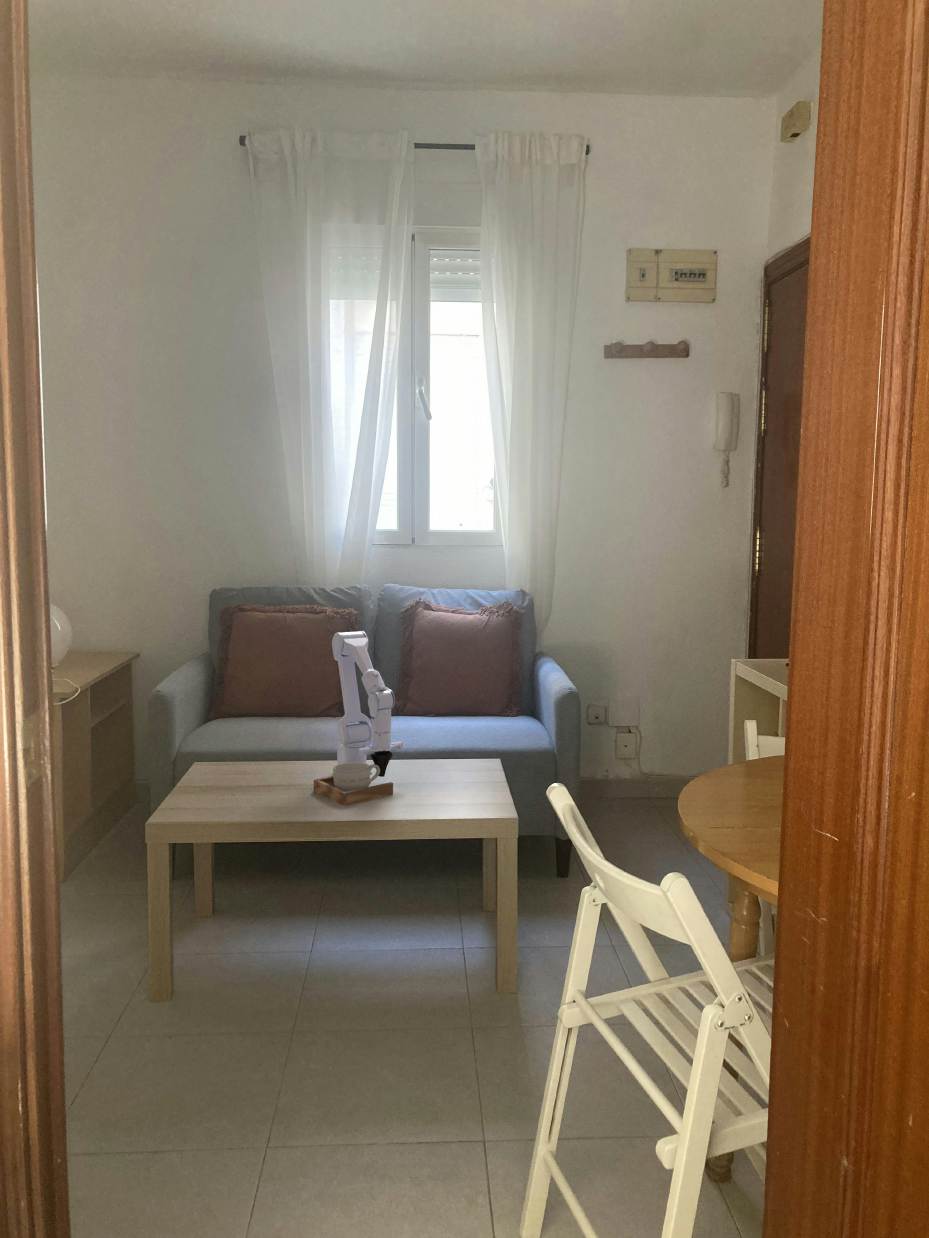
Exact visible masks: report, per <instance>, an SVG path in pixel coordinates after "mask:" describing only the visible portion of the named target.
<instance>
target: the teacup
mask: <svg viewBox="0 0 929 1238" xmlns="http://www.w3.org/2000/svg"><path fill="white" fill-rule="evenodd" d="M373 768H374V769H375V770H376V772H375V773H374V775H373V776H371V773H370V772H371V771H372V770H373ZM332 773H333V775H332V776H333V779H334V786H335V787H336V788H338V789H341V790H343V791H345V792H347V791H352V790H356V789H361V788H366V787H370V785H371V783H372V782H373V781H375V780H376V779H377V778H378V777H380V776H379V774H380V768H379V766H378V765H375V764H374V763H373V764H371V765H369V764H368V763H367V762H366V763H358V762H351V763H342V764H338V765H337V764H335V765H334V766H332ZM370 776H371V777H370Z"/></svg>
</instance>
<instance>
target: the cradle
mask: <svg viewBox="0 0 929 1238" xmlns="http://www.w3.org/2000/svg"><path fill="white" fill-rule="evenodd" d="M313 793H316V794H318V795H320V796H323V797H324V798H327V799H329V800H331V801H333V802H335V803H338V804H340V805H341V806H344V807H345V806H351V805H354V804H359V803H363V802H369V801H372V800H376V799H381V798H384V797H390V796H393V795H394V783H393V782H392V781H389V782H386V783H385V782H384V783H381V784H380V783H379V784H376V785H372V786H370V785H369V787H366V788H361V789H356V790H352V791H347V792H345V791H343V790H341V789H338V788H336V787H335V786H334V779H333V775H330V776H326V777H321V778H316V779H313Z"/></svg>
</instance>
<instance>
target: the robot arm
mask: <svg viewBox="0 0 929 1238" xmlns="http://www.w3.org/2000/svg"><path fill="white" fill-rule="evenodd" d="M331 648H332V654H333V660H335V661H336V662H337V665H338V671H339V673H338V674H339V679H340V687H341V695H342V703H343V709H344V715H343V716H342V717H341V718H340V719H339V720H338V721H337V724H336V725H337V732H336V735H337V736H336V737H337V740H338V742H339V744H340V745H338V748H337V753H336V754H337V757H336V758H337V759H336V760H337V763H336V765H338V764H342V763H351V762H358V763H366V764H367V756H370V758H371V760H372V762H373V764H375V765H378V766H379V768H380V774H379V776H378V777H380V778H384V777H385V775H386V772H387V768H388V765H389V763H390V760H391V759H392V758H393V752H391V751H396V750H403V748H404V742H402V741H391V740H392V709H394V707H395V705H396V698H395V694H394V692H393V690H392V689H390V688H389V687H387V686H386V684H385V682H384V680H383V678H382V675H381V674H380V672H379V671H378V670H377V669H375V668H374V666H373V664H372V663H373V662H372V661H371V657H370V655H369V652H368V650H369V637H368V635H367V633H366V632H365V631H364V630H360V631H348V632H347V631H345V632H335V633H334V635H333V637H332V640H331ZM355 663H356V664H357V667H358V668H359V670H360V672H361V673H362V676H361V682H362V685H363V687H364V689H365V692H366V693H367V695H368V699H367V705H368V709H369V716H370V717H371V722H370V718H369V717H368V716H367V715H365V714H364V713H362V710H361V703H360V702H361V701H360V695H359V687H358V680H357V674H356V665H355ZM370 742H371V743H370ZM369 743H370V745H369ZM370 774H373V771H372V770H371V772H370Z"/></svg>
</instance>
